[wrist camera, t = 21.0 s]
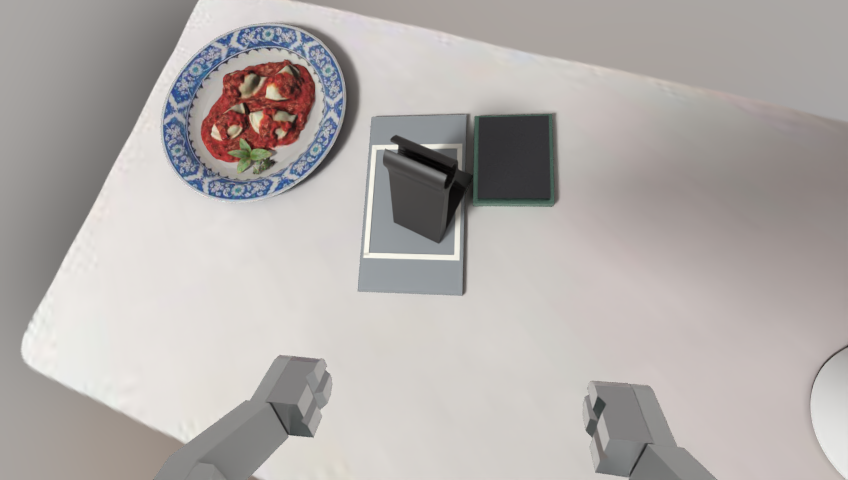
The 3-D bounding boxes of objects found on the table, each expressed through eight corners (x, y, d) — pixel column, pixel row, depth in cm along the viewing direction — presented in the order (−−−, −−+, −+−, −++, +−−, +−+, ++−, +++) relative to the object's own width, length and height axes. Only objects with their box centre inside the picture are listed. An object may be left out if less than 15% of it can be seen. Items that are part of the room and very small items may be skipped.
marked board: (466, 117, 43) (466, 113, 43) (462, 295, 39) (462, 295, 39) (372, 119, 45) (371, 116, 44) (359, 291, 41) (357, 291, 40)
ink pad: (550, 118, 42) (553, 111, 40) (552, 206, 40) (555, 202, 38) (474, 120, 43) (474, 113, 42) (472, 205, 41) (473, 201, 40)
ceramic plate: (207, 27, 52) (191, 10, 49) (371, 43, 48) (365, 25, 45) (147, 190, 47) (126, 182, 44) (323, 223, 43) (312, 217, 40)
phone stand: (428, 157, 42) (411, 99, 31) (473, 177, 41) (473, 124, 29) (394, 222, 41) (362, 188, 30) (438, 244, 40) (424, 217, 28)
